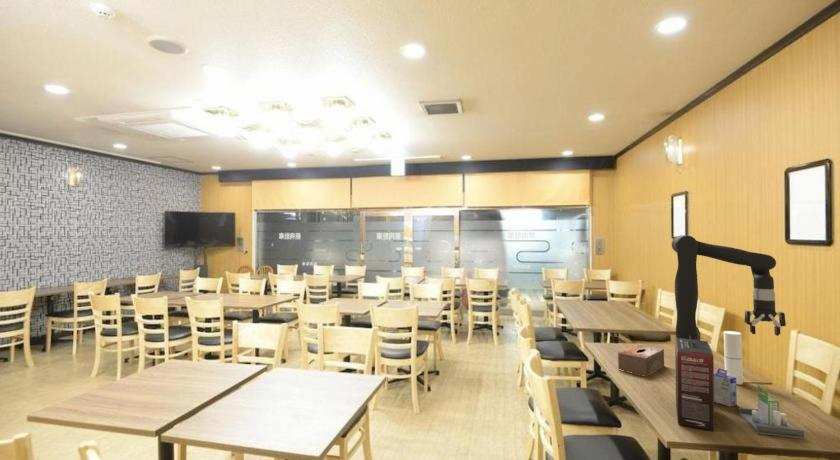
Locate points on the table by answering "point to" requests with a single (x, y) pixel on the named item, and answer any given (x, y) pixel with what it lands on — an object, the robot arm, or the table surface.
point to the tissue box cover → (641, 359)
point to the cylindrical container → (733, 355)
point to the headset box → (694, 383)
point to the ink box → (766, 407)
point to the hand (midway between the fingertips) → (765, 334)
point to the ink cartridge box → (725, 388)
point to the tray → (778, 429)
